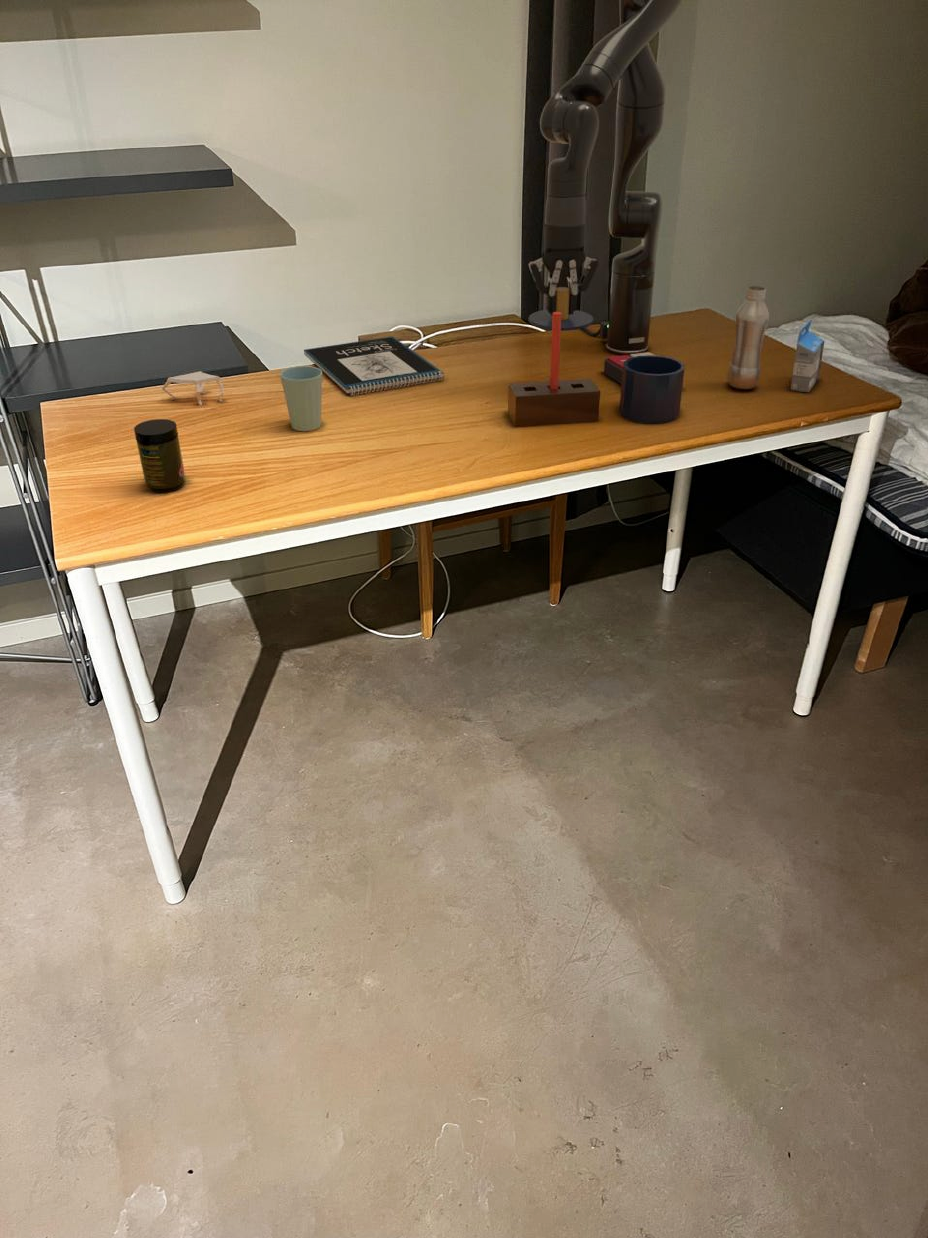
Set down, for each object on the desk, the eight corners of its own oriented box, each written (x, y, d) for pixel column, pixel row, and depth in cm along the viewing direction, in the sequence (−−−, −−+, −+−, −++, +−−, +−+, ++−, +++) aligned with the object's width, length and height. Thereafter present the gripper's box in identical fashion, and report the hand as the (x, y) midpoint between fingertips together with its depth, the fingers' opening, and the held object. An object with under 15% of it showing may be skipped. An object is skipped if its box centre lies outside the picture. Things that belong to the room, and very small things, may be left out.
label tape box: (808, 393, 200) (819, 332, 194) (788, 389, 202) (798, 329, 195) (818, 380, 207) (830, 321, 200) (799, 376, 209) (809, 318, 202)
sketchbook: (392, 341, 231) (392, 332, 230) (445, 381, 208) (445, 372, 207) (304, 354, 223) (303, 345, 222) (349, 397, 201) (348, 387, 199)
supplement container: (184, 492, 165) (174, 433, 159) (143, 495, 164) (131, 436, 158) (188, 475, 170) (178, 417, 164) (148, 477, 169) (136, 420, 164)
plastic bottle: (755, 381, 206) (770, 283, 195) (760, 393, 201) (776, 293, 190) (723, 381, 207) (737, 283, 196) (727, 392, 201) (742, 292, 190)
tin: (612, 403, 196) (616, 356, 191) (667, 400, 198) (672, 353, 193) (629, 425, 187) (633, 376, 182) (687, 421, 188) (693, 372, 183)
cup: (323, 416, 192) (318, 363, 187) (330, 430, 186) (325, 377, 180) (284, 420, 191) (277, 367, 185) (289, 435, 184) (283, 381, 179)
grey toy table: (222, 389, 205) (219, 366, 202) (226, 403, 198) (223, 379, 196) (163, 395, 202) (158, 372, 200) (165, 410, 196) (160, 386, 193)
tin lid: (522, 316, 199) (523, 282, 195) (583, 313, 200) (585, 279, 197) (536, 335, 188) (537, 299, 185) (600, 331, 190) (602, 296, 186)
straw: (547, 415, 191) (551, 311, 181) (555, 415, 192) (560, 311, 181) (549, 419, 190) (553, 314, 179) (557, 418, 190) (562, 313, 179)
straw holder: (507, 413, 193) (508, 383, 190) (588, 407, 195) (590, 378, 192) (515, 426, 187) (515, 396, 184) (598, 421, 189) (600, 390, 186)
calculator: (650, 350, 212) (685, 368, 200) (649, 369, 215) (683, 389, 202) (603, 355, 210) (635, 374, 197) (602, 375, 212) (634, 395, 200)
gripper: (596, 214, 188) (590, 306, 197) (524, 217, 186) (521, 310, 196) (607, 222, 182) (601, 317, 191) (532, 226, 180) (529, 321, 189)
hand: (561, 313), depth 193 cm, fingers closed on tin lid, 3 cm apart
